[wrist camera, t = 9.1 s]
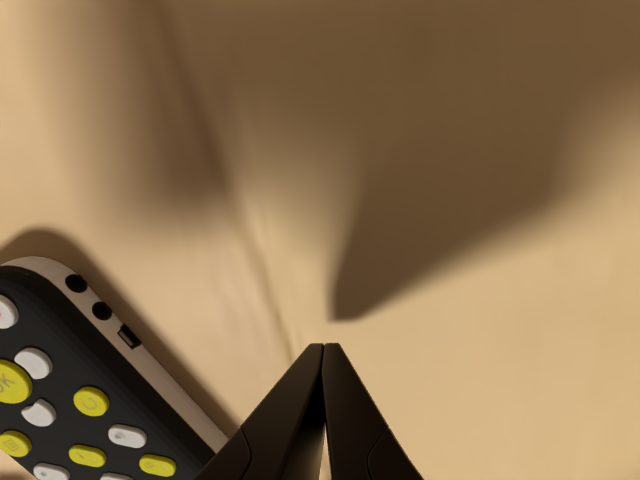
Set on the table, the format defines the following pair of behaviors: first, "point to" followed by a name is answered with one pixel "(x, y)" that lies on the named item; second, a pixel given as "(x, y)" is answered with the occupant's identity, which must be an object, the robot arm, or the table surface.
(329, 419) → the robot arm
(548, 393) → the table surface
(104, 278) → the table surface
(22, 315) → the remote control
